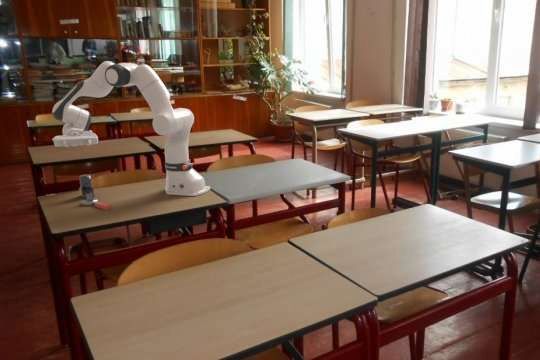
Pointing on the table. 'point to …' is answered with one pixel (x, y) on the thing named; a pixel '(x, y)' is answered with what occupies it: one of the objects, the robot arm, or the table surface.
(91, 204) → the ratchet
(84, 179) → the socket
